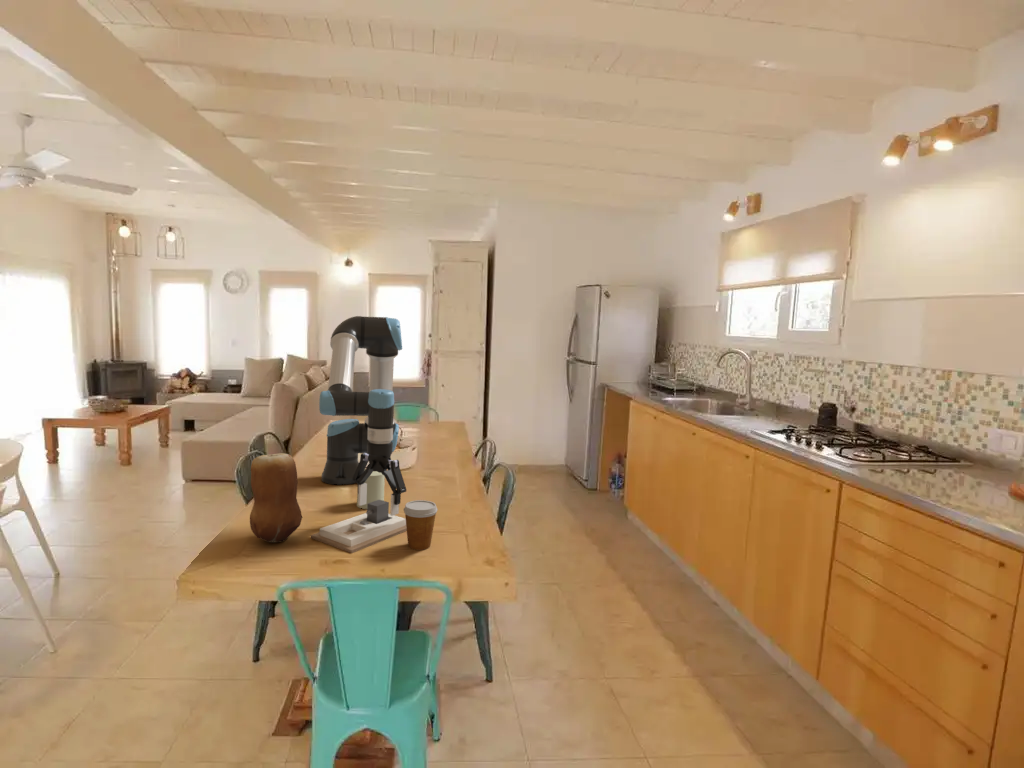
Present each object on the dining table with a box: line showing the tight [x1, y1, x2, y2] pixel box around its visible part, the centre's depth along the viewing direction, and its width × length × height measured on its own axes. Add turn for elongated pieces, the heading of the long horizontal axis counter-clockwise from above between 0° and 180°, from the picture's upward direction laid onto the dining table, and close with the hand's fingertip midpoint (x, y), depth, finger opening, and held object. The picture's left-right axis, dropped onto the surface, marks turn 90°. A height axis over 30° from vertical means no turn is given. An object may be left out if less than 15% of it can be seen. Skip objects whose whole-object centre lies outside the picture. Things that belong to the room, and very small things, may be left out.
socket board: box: [310, 512, 407, 554], centre depth 172 cm, size 17×25×3 cm
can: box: [356, 468, 386, 510], centre depth 196 cm, size 9×9×12 cm
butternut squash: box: [249, 452, 303, 543], centre depth 161 cm, size 14×13×25 cm
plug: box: [365, 500, 390, 524], centre depth 175 cm, size 4×7×7 cm, turn 149°
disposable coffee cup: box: [403, 499, 438, 551], centre depth 164 cm, size 10×10×12 cm
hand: (378, 509), depth 176 cm, fingers open, 13 cm apart
